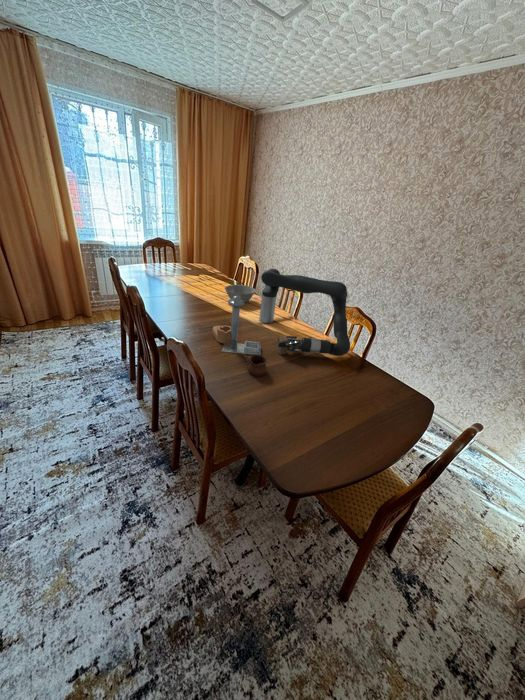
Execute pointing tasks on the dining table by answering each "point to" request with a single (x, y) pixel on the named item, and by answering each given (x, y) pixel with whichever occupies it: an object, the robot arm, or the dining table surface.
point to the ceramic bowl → (240, 292)
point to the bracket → (222, 333)
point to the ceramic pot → (257, 366)
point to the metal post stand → (233, 346)
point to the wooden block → (282, 349)
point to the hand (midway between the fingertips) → (278, 342)
